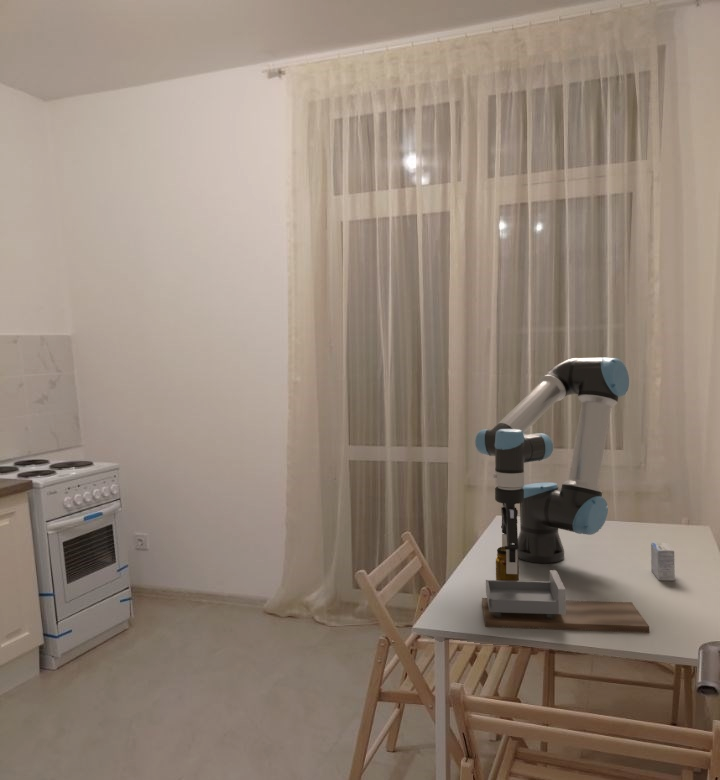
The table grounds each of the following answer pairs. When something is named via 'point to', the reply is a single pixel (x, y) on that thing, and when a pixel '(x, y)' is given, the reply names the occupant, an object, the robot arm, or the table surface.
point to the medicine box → (662, 561)
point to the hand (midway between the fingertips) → (509, 565)
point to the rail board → (575, 617)
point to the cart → (527, 596)
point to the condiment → (504, 567)
